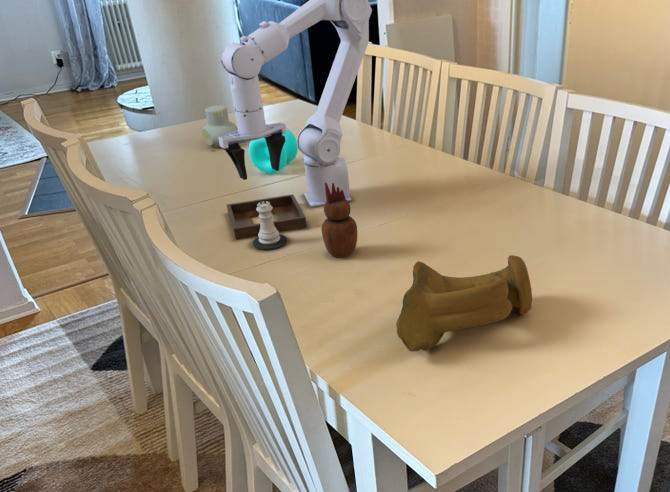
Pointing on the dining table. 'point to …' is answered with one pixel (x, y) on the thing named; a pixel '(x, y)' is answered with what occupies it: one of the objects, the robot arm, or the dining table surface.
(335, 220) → the wooden figurine
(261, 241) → the rook chess piece
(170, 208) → the dining table surface
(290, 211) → the tray
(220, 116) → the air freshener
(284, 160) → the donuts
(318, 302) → the dining table surface
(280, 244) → the coaster
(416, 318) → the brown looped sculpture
